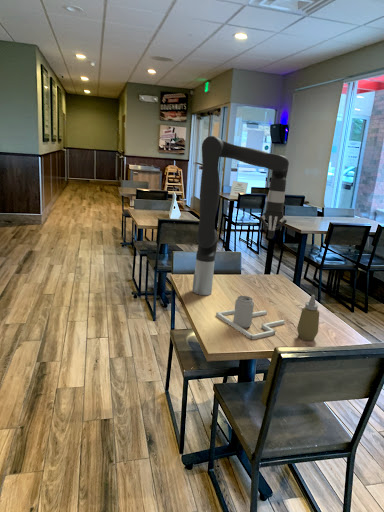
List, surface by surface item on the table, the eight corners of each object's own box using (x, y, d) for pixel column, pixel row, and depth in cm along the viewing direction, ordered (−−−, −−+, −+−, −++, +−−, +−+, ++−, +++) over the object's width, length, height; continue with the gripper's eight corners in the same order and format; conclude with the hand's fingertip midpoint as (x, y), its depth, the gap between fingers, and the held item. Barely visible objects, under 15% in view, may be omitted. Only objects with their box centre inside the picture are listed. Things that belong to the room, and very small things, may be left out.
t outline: (256, 308, 180) (257, 305, 180) (294, 329, 160) (295, 326, 160) (216, 315, 168) (216, 312, 168) (251, 339, 148) (252, 336, 148)
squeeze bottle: (313, 344, 148) (321, 301, 144) (293, 338, 152) (299, 295, 148) (319, 337, 155) (326, 295, 151) (299, 331, 159) (305, 290, 155)
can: (254, 326, 161) (258, 299, 157) (242, 330, 156) (245, 302, 153) (241, 319, 166) (244, 293, 163) (229, 323, 161) (232, 296, 158)
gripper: (260, 200, 174) (255, 237, 178) (290, 203, 171) (284, 241, 175) (261, 198, 181) (257, 234, 185) (290, 201, 178) (285, 238, 182)
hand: (270, 238), depth 180 cm, fingers closed
